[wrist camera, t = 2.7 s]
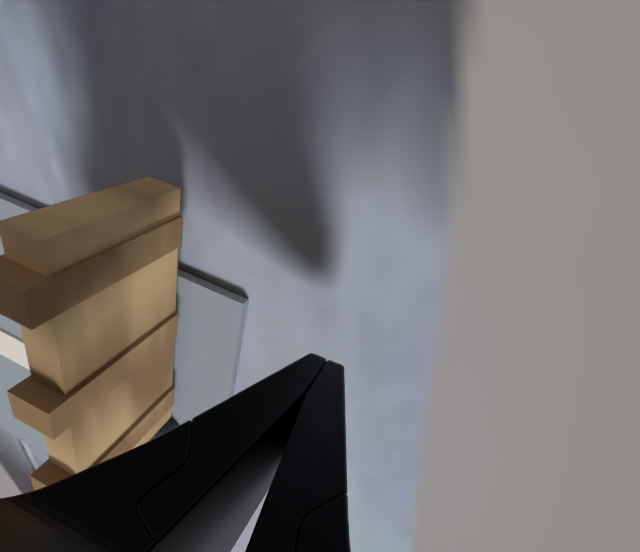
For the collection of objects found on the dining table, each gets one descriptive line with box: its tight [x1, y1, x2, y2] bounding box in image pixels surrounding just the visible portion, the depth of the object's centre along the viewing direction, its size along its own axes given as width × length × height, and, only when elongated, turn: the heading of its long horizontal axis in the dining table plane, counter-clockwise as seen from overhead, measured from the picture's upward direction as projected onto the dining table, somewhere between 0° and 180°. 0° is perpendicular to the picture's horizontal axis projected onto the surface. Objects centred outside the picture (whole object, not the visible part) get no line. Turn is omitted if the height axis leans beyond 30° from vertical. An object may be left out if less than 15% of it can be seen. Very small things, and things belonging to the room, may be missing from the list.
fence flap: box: [0, 176, 183, 490], centre depth 11 cm, size 9×1×4 cm, turn 167°
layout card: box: [0, 192, 248, 456], centre depth 17 cm, size 15×14×1 cm
